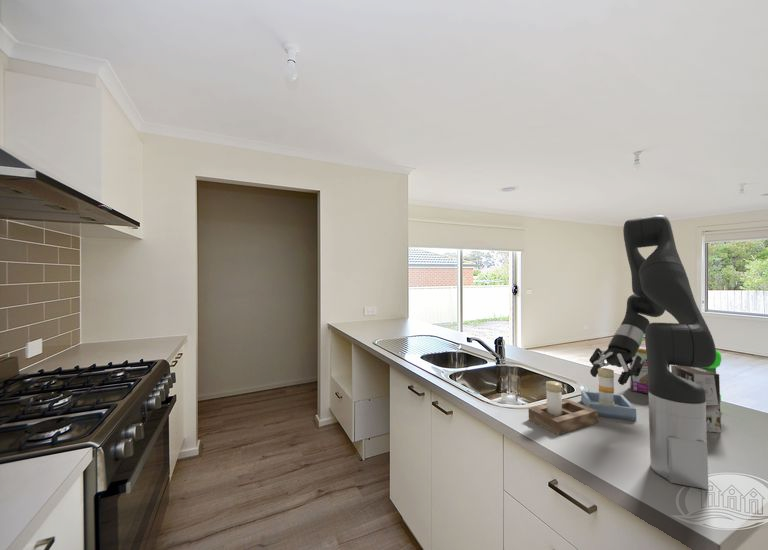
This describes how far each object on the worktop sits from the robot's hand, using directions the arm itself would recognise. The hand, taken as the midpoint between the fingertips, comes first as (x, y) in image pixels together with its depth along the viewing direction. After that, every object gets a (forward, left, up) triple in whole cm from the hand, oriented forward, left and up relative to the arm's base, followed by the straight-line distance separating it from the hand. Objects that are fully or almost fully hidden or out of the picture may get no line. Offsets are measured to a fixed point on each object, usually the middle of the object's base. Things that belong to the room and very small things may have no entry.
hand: (606, 379), depth 100 cm
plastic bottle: (+13, -29, -10) cm, 33 cm away
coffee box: (-3, -21, -10) cm, 23 cm away
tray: (0, 0, -10) cm, 10 cm away
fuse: (-16, +17, -10) cm, 25 cm away
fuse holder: (-14, +15, -10) cm, 22 cm away
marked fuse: (0, 0, -9) cm, 9 cm away
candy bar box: (+23, -19, -10) cm, 31 cm away
